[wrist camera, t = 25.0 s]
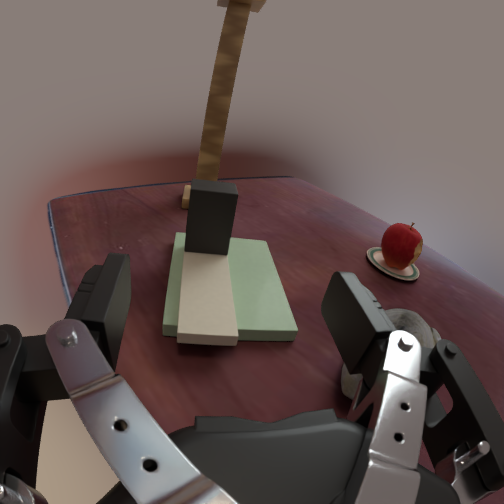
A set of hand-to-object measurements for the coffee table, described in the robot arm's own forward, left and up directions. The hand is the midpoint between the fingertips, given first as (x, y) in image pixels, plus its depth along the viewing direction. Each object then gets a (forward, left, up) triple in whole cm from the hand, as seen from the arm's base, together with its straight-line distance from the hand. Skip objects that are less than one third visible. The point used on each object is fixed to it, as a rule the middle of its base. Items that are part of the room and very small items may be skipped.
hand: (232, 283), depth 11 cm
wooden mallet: (0, +11, -8) cm, 14 cm away
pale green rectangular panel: (+2, +13, -10) cm, 16 cm away
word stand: (0, +33, -10) cm, 34 cm away
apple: (+25, +19, -10) cm, 33 cm away
